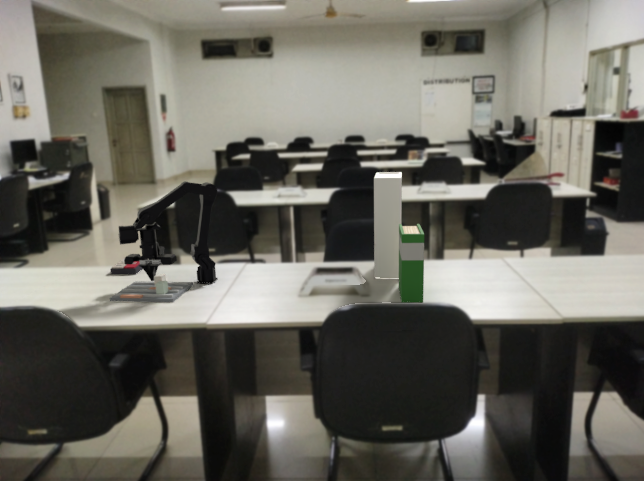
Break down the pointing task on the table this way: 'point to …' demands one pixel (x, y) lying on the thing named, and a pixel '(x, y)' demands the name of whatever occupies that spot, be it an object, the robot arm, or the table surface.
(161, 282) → the sage slider
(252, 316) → the table surface
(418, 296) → the hardback book
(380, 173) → the storage box
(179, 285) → the grey slider track board
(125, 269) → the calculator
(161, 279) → the cream slider
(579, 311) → the table surface
